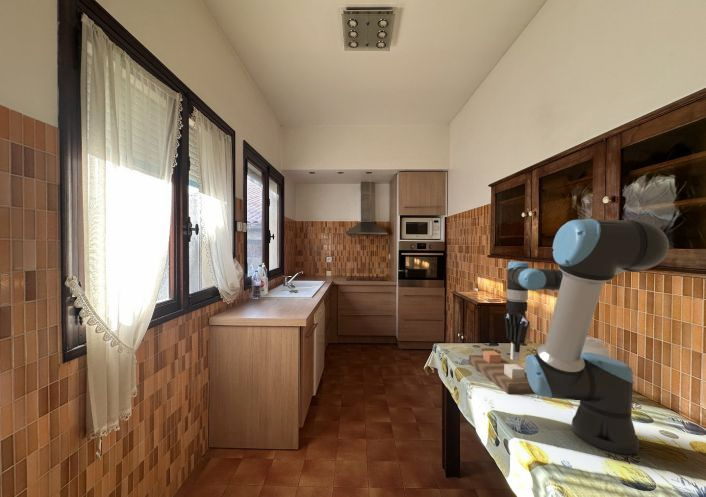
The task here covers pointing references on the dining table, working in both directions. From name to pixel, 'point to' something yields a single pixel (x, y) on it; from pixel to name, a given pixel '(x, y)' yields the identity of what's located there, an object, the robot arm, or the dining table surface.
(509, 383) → the wooden board
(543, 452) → the dining table surface
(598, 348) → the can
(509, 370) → the cream block
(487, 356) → the orange block
